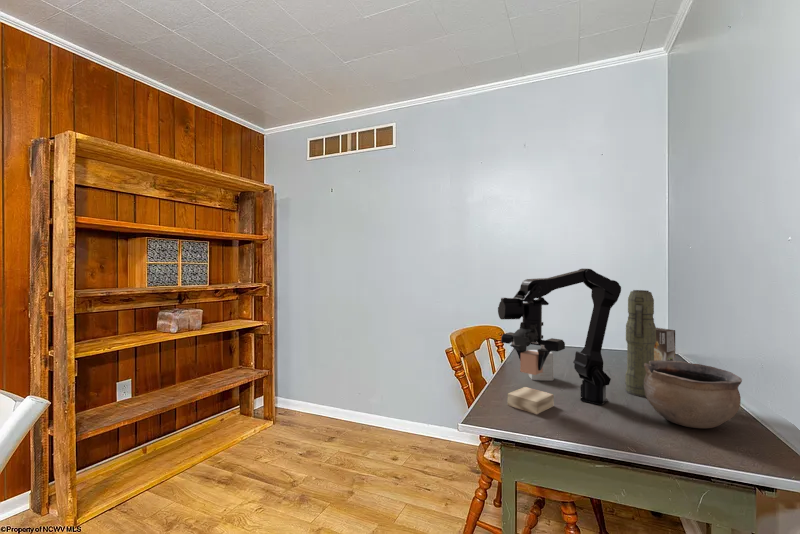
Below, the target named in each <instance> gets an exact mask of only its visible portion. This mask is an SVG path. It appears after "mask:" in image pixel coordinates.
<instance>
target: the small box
mask: <svg viewBox="0 0 800 534" xmlns="http://www.w3.org/2000/svg"><path fill="white" fill-rule="evenodd" d="M528 350H529V351H534V352H538V351H537V350H538V349H528ZM528 377H529V378H530V379H531V380H532V381H554V353H553V351H550V353H549V354H548V356H547V358H546V360H545V362H544V364H543V372H541V373H539V374H537V375H533V374H528Z"/></svg>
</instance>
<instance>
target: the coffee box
mask: <svg viewBox="0 0 800 534" xmlns="http://www.w3.org/2000/svg"><path fill="white" fill-rule="evenodd" d="M658 360H662V361H676V330H674V329H668V328H661V327H656V343H655V345H654V361H658Z"/></svg>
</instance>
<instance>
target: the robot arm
mask: <svg viewBox="0 0 800 534" xmlns="http://www.w3.org/2000/svg"><path fill="white" fill-rule="evenodd" d="M582 283H583V284H584V285H585V286H586V287H587V288H589V290H591V300H592V303H593V307H592V312H591V316H590V321H589V325H588V329H587V330H588V331H587V334H586V339H585V343H584V347H583V349H582V350H581V351H577V350H576V351H575V354H574V355H575V356H574V360H573V362H572V363H573V364H574V366H573V367H574V370H575V372H576V373H577V374H578V376H579V378H580V379H582V381H581V384H580V401H581V402H586V403H590V404H594V405H598V406H602V405H604V404H605V403H607V402H608V400H609V399H608V398H607V397H606V396H607V386H609V385H610V383H611V380H612V378H610V376H609V375H608V374H607V373H606V372H605V371H604V359H603V357H602V356H603V355H602V348H603V344H604V339H605V335H606V330H607V326H608V321H609V317H610V311H611V309H612V307H613V306H614V305H615V304H616V303H617V302H618V300H619V297H620V296H621V291H622V286H621V285H620V282H618V281H616V280H614V279H610V278H608V277H607V276H604V275H602V274H599V273H598V272H596V271H594V270H593V269H592V268H579V269H578V270H574V271H571V272H570V271H569V272H566V273H563V274H558V275H555V276H549V277H541V278H526V279H524V280H522V282H521V284H520V287H519V289H518V291H517V292H516V294H515V295H514V296H513V297H500V302H499V303H498V307H497V314H498V317H499V320H520V319H521V318H522V321H520V324H519V328H518V329H517V330H516V331H514V332H511V331H509V332H506V333H503V334H501V337H500V342H501V343H502V344H508V345H509V346H510V347H511V348H513V349H514V350H515V351H516V354H517V356H518V358H519V360H520V359H521V353H522V352H525V351H527V347H530V345H534V346H540V348H538V349H536V350H537V351H538V353H539V359H538V370H539V371H540V370H541V369H542V367H543V364H544V362H545V360H546V358H547V356H548V354H549V353H550V351H551V352H561V351H563V350H565V349H566V342H565V341H564V340H563V339H559V338H555V337H554V338H553V337H551V338H547V339H544V335H543V333H542V332H543V330H542V329H543V328H542V327H543V326H544V321H543V320H542V318H543V317H542V313H543V306H548V305H549V304H550V302H548V301H547V300H546V299H545V298H544V296H547V295H549V294H551V292H553V291H555V290H559V289H563V288H565V287H570V286H574V285H577V284H582Z"/></svg>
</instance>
